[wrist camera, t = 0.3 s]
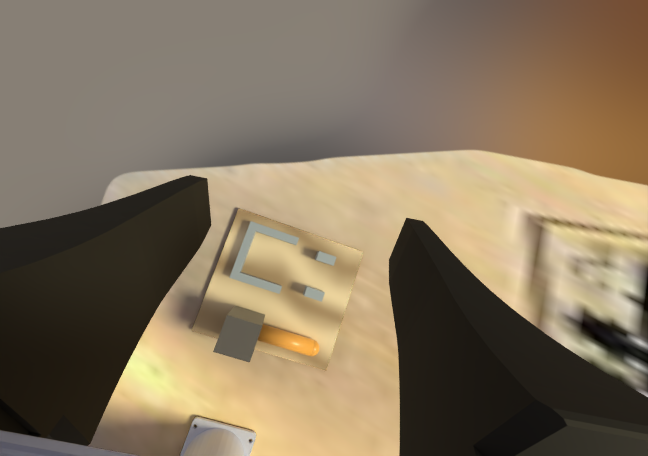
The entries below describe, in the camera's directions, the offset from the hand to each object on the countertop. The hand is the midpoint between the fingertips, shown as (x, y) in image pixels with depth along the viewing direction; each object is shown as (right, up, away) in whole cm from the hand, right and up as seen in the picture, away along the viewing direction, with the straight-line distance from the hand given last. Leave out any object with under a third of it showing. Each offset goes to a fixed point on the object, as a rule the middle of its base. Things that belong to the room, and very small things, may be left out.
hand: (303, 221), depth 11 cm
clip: (0, -7, +28) cm, 29 cm away
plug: (-6, -14, +27) cm, 31 cm away
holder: (-7, -4, +28) cm, 29 cm away
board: (-5, -8, +28) cm, 30 cm away
